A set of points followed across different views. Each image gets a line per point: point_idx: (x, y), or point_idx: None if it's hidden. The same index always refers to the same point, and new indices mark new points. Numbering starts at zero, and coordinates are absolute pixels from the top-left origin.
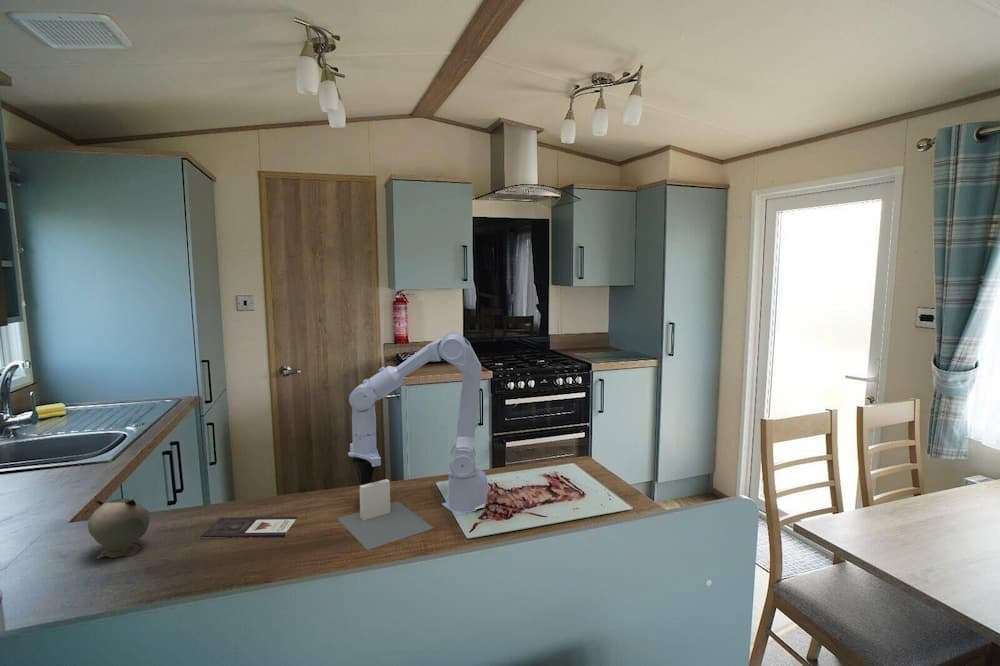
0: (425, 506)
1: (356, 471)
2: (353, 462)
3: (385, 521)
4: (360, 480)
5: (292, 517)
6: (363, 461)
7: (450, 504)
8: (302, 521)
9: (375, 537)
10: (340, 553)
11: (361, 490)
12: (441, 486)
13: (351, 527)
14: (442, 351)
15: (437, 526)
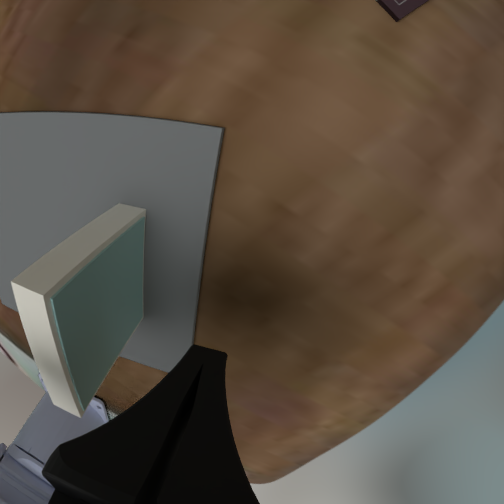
0: (121, 386)
1: (226, 431)
2: (186, 501)
3: None
4: (183, 375)
5: (409, 1)
6: (75, 498)
7: None
8: (350, 14)
9: (7, 167)
10: (14, 44)
11: (34, 274)
12: None
13: (96, 134)
14: None
15: (17, 318)
